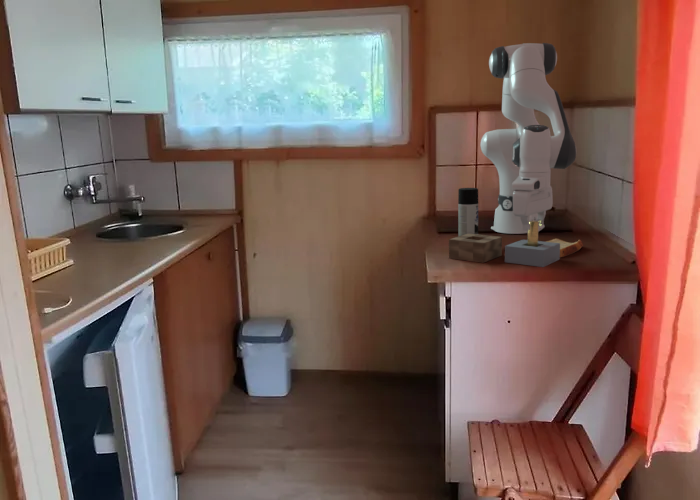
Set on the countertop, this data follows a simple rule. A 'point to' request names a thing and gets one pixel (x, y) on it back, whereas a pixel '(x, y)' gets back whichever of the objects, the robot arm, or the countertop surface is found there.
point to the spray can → (467, 211)
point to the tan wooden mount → (475, 247)
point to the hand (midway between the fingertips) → (533, 227)
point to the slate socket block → (532, 253)
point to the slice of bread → (567, 247)
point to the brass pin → (533, 234)
